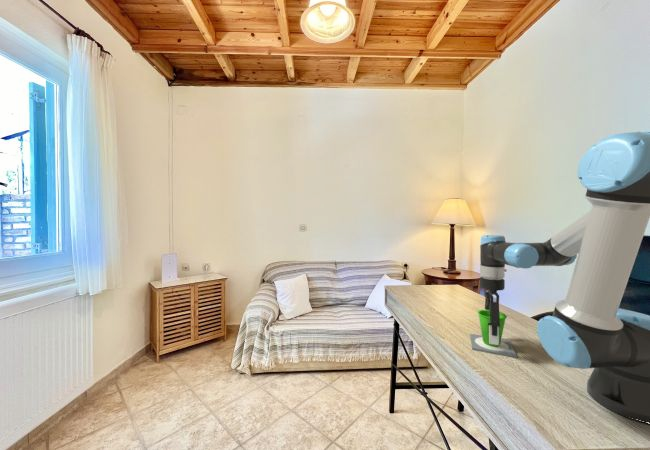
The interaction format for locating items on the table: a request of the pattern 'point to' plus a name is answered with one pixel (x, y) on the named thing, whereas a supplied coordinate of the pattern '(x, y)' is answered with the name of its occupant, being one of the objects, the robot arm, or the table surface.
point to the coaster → (502, 349)
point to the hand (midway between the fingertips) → (491, 336)
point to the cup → (484, 321)
